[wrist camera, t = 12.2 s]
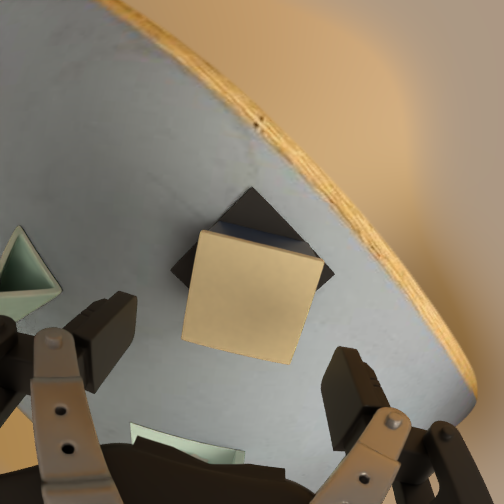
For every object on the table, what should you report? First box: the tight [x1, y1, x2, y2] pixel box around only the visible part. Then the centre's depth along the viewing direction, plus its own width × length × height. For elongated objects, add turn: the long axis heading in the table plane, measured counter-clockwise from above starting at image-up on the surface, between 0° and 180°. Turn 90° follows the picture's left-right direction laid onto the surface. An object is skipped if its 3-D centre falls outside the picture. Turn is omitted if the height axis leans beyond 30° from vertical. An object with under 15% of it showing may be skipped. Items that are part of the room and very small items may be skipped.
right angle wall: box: [130, 422, 245, 464], centre depth 23 cm, size 12×12×8 cm
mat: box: [170, 187, 335, 291], centre depth 20 cm, size 8×8×1 cm
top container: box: [181, 221, 324, 365], centre depth 18 cm, size 6×6×5 cm
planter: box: [0, 226, 62, 322], centre depth 23 cm, size 8×6×18 cm
